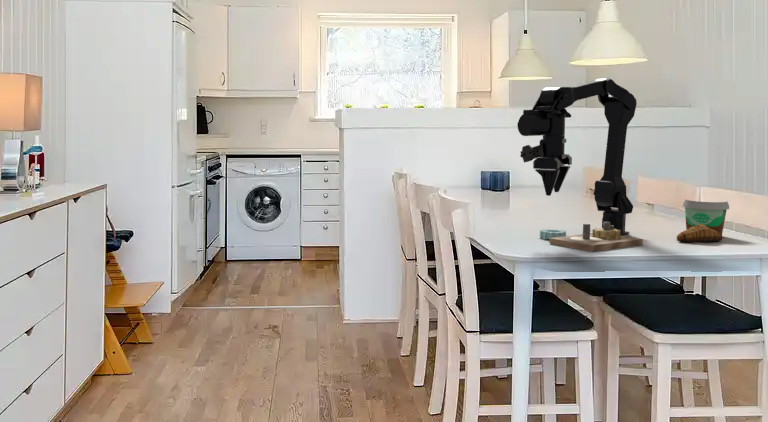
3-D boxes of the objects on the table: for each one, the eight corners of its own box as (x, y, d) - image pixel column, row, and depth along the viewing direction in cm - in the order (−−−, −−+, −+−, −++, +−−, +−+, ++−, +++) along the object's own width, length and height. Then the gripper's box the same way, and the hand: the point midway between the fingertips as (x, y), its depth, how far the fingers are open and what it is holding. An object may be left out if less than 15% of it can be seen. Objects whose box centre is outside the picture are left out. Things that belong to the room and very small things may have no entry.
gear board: (599, 237, 212) (600, 217, 212) (642, 244, 201) (643, 223, 201) (549, 243, 201) (550, 222, 200) (592, 251, 190) (593, 229, 189)
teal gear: (551, 235, 215) (552, 228, 215) (571, 239, 210) (571, 231, 209) (534, 237, 211) (534, 230, 211) (553, 241, 205) (554, 233, 205)
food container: (680, 236, 217) (682, 201, 216) (680, 233, 223) (682, 199, 221) (728, 239, 212) (730, 203, 211) (727, 236, 218) (729, 201, 217)
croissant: (685, 244, 203) (686, 225, 202) (670, 240, 209) (671, 222, 209) (729, 243, 206) (731, 224, 205) (713, 239, 213) (714, 221, 212)
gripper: (532, 133, 216) (532, 189, 218) (514, 136, 200) (513, 196, 202) (572, 134, 212) (571, 190, 214) (557, 136, 195) (556, 198, 197)
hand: (552, 193), depth 207 cm, fingers open, 9 cm apart
